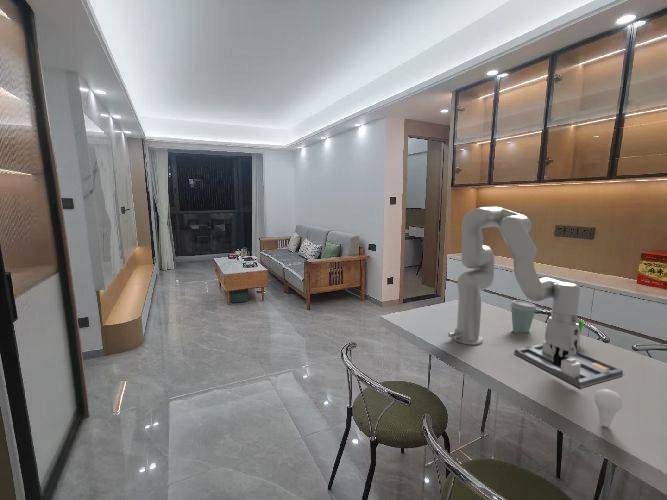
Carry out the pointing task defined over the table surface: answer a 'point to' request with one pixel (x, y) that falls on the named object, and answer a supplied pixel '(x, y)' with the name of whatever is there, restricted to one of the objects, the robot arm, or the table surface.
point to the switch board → (589, 366)
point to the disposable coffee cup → (522, 316)
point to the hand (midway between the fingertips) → (558, 364)
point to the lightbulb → (607, 405)
